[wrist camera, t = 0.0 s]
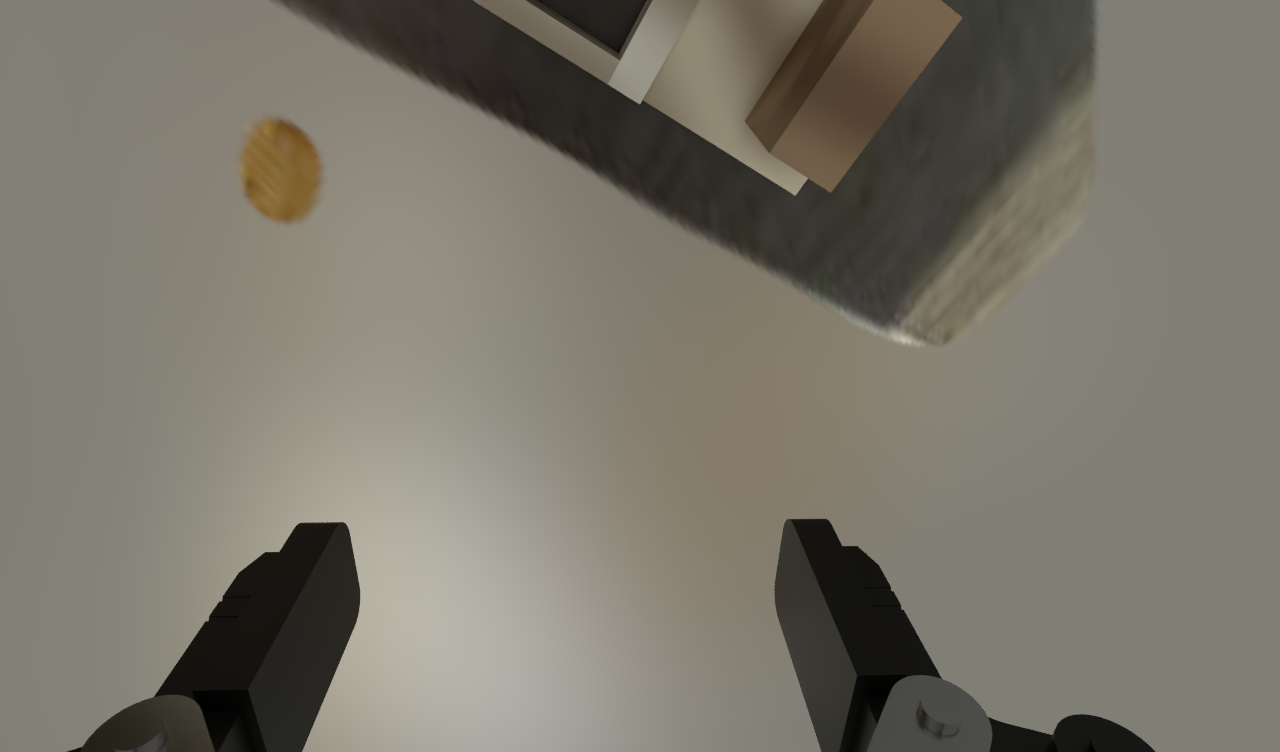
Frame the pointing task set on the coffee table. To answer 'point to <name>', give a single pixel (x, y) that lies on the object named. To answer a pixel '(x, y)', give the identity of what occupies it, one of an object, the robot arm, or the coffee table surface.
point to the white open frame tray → (762, 71)
